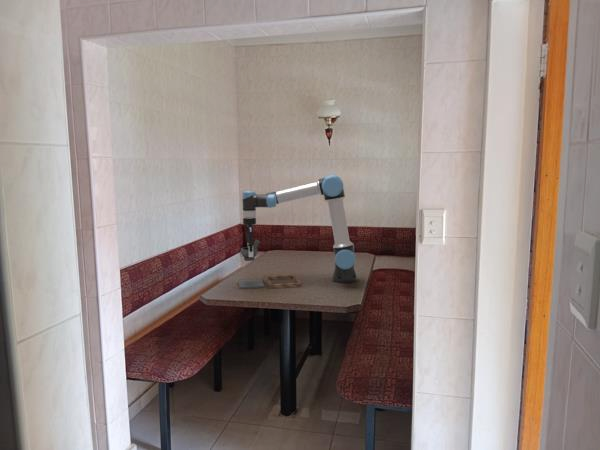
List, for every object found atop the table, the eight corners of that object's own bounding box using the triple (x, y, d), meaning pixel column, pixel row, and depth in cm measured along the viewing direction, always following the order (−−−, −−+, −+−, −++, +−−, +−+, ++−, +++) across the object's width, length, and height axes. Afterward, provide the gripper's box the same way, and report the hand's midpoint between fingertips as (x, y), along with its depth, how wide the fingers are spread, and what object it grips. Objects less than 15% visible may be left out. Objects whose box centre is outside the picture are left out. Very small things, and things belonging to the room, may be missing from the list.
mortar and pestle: (239, 261, 267) (239, 241, 265) (242, 258, 276) (241, 238, 275) (259, 261, 267) (258, 240, 265) (260, 258, 276) (260, 238, 274)
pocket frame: (295, 277, 289) (295, 274, 289) (301, 286, 268) (301, 283, 267) (265, 279, 286) (264, 276, 286) (269, 288, 264) (269, 285, 264)
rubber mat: (261, 280, 282) (261, 279, 282) (264, 287, 267) (264, 285, 267) (238, 282, 280) (238, 280, 280) (239, 288, 264) (239, 287, 264)
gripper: (241, 215, 279) (242, 252, 281) (244, 219, 257) (245, 259, 260) (254, 215, 280) (255, 251, 283) (257, 219, 258) (258, 258, 261)
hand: (250, 255), depth 271 cm, fingers closed on mortar and pestle, 10 cm apart
